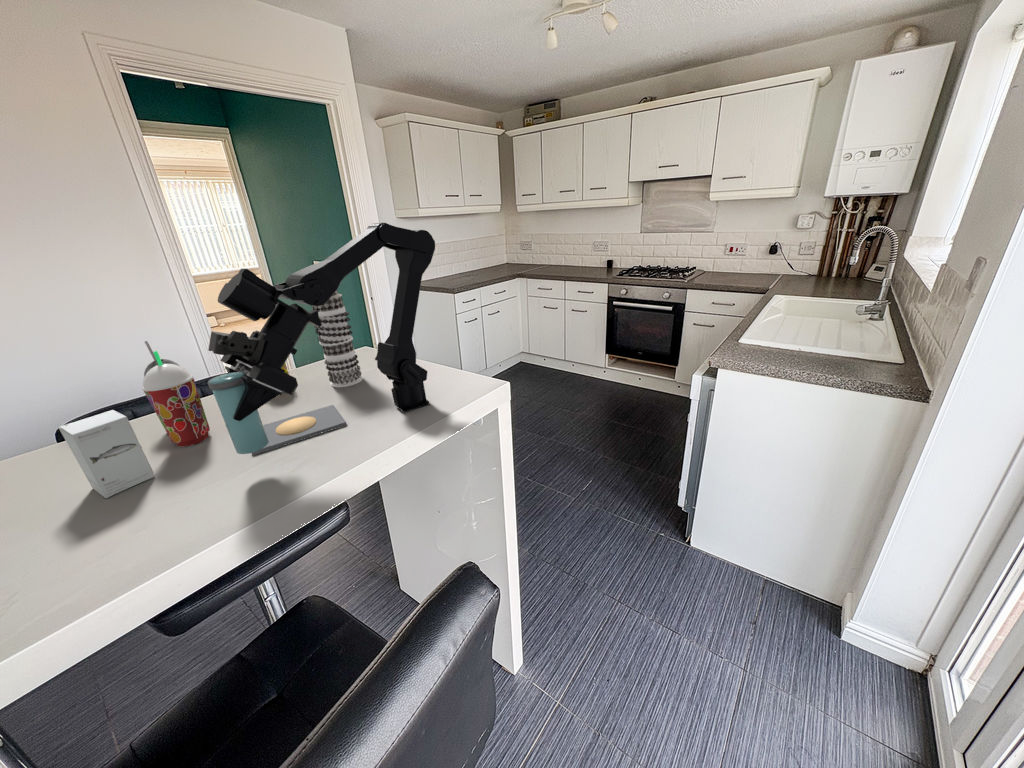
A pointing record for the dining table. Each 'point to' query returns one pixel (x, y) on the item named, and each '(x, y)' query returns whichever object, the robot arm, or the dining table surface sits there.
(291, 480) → the dining table surface
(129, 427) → the supplement box
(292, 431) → the mat
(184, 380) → the smoothie
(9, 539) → the dining table surface
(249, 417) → the teal capped cylinder
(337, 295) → the decorative candle
